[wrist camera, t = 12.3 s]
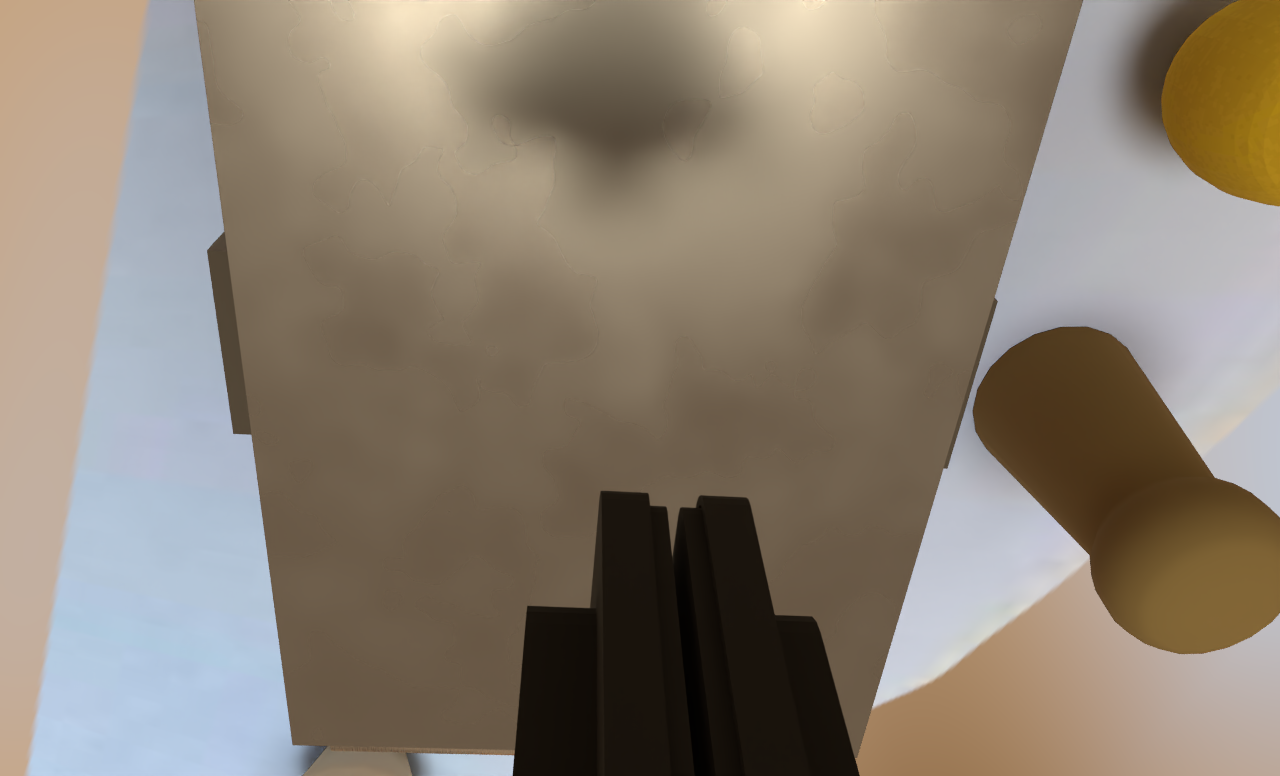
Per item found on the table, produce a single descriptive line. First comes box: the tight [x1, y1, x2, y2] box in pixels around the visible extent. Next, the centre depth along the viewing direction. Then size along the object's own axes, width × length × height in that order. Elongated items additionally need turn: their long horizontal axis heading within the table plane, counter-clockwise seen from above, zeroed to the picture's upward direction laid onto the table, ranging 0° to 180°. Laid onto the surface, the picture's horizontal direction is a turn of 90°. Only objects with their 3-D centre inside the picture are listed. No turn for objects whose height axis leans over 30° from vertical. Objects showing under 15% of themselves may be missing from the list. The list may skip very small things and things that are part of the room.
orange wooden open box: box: [207, 232, 998, 468], centre depth 27 cm, size 20×19×10 cm
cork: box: [973, 327, 1280, 654], centre depth 31 cm, size 6×6×11 cm
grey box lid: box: [194, 0, 1083, 758], centre depth 22 cm, size 24×16×1 cm, turn 175°
